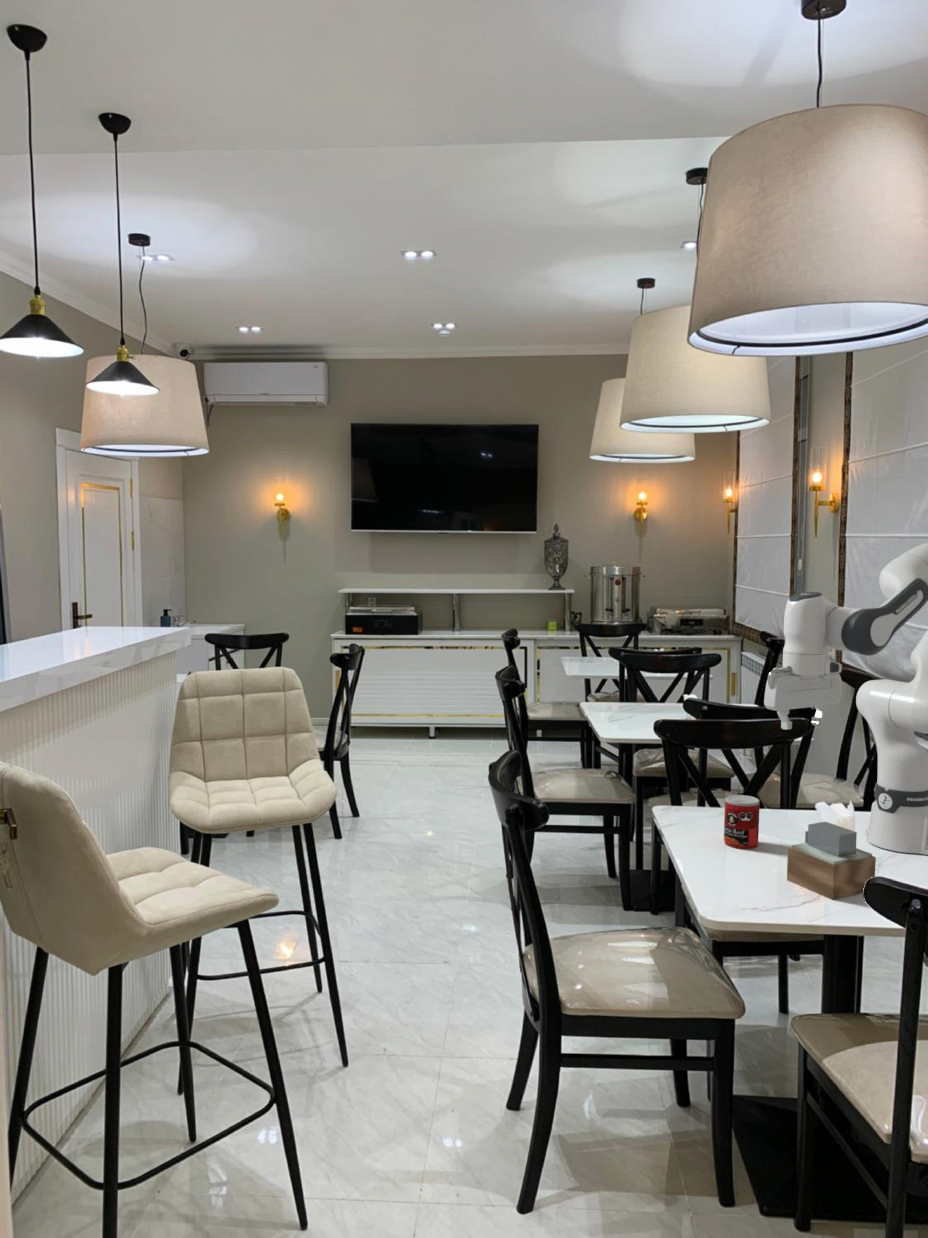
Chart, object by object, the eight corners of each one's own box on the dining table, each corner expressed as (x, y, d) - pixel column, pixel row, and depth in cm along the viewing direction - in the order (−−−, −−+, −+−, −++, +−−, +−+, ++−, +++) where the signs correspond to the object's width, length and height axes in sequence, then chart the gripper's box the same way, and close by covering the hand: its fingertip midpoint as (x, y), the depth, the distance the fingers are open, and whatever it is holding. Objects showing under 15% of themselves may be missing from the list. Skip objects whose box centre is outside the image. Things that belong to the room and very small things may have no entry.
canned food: (717, 843, 212) (718, 798, 211) (737, 837, 217) (739, 793, 216) (744, 852, 206) (745, 805, 205) (764, 845, 211) (766, 800, 210)
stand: (827, 871, 193) (828, 837, 193) (874, 890, 183) (875, 854, 182) (786, 880, 188) (788, 845, 188) (832, 900, 177) (834, 862, 177)
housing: (855, 853, 182) (856, 832, 182) (838, 857, 180) (839, 835, 180) (818, 840, 191) (819, 819, 191) (801, 843, 189) (802, 822, 188)
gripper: (780, 670, 189) (778, 734, 190) (847, 664, 198) (845, 725, 199) (758, 666, 195) (756, 728, 196) (824, 661, 204) (822, 720, 205)
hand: (801, 727), depth 197 cm, fingers open, 8 cm apart
